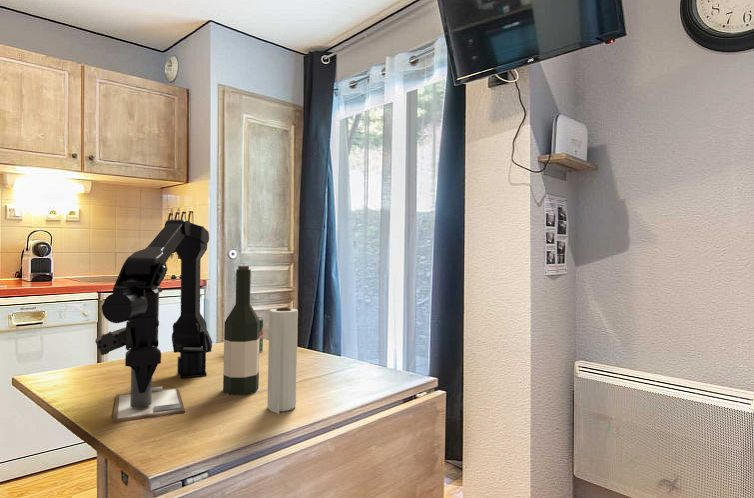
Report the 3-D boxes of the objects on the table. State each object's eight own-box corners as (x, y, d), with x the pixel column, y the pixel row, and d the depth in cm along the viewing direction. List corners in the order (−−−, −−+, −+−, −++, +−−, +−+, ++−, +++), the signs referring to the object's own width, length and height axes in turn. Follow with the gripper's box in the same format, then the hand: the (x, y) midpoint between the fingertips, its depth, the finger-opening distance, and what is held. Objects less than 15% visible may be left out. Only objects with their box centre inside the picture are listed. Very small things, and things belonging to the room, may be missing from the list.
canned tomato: (243, 348, 156) (244, 316, 156) (266, 349, 156) (266, 317, 156) (234, 353, 148) (234, 319, 148) (257, 355, 148) (258, 320, 148)
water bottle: (151, 400, 100) (152, 353, 100) (152, 406, 96) (153, 357, 96) (130, 402, 98) (131, 354, 98) (129, 408, 94) (131, 358, 94)
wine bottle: (265, 387, 114) (268, 266, 114) (245, 397, 106) (248, 267, 106) (237, 383, 117) (239, 265, 117) (215, 393, 109) (218, 266, 109)
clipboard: (178, 389, 111) (178, 384, 111) (184, 412, 96) (185, 406, 96) (116, 396, 105) (116, 391, 105) (113, 422, 90) (113, 416, 90)
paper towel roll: (280, 401, 104) (282, 306, 104) (301, 406, 101) (303, 308, 101) (257, 410, 98) (259, 309, 98) (278, 416, 95) (281, 312, 95)
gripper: (101, 311, 102) (100, 382, 102) (95, 324, 85) (93, 409, 85) (157, 309, 107) (156, 377, 107) (162, 321, 90) (160, 401, 90)
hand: (141, 389), depth 97 cm, fingers closed on water bottle, 4 cm apart
